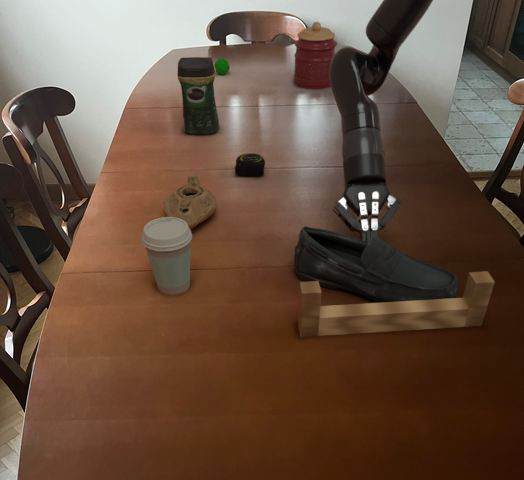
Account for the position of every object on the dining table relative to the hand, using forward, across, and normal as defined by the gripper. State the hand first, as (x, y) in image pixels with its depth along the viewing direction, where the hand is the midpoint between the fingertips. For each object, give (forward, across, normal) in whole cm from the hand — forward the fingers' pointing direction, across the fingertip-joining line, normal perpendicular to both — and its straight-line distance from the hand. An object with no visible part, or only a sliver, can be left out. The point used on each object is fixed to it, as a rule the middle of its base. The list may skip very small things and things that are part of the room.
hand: (370, 252), depth 107 cm
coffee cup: (+4, +36, -2) cm, 36 cm away
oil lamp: (-12, +33, -18) cm, 40 cm away
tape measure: (-27, +19, -33) cm, 47 cm away
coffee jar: (-47, +31, -53) cm, 77 cm away
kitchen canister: (-72, -5, -78) cm, 106 cm away
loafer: (+7, +1, +1) cm, 7 cm away
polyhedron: (-81, +24, -87) cm, 121 cm away
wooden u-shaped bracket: (+14, 0, +9) cm, 17 cm away
